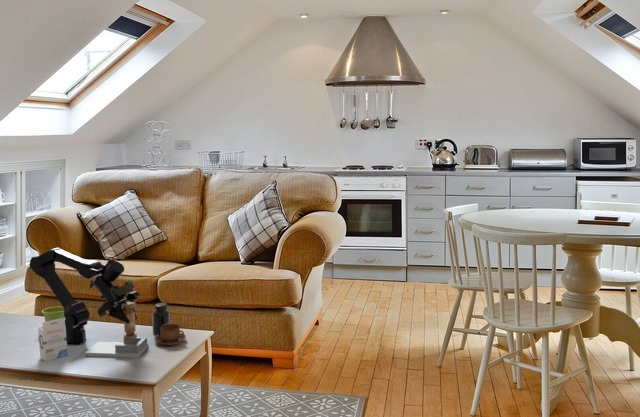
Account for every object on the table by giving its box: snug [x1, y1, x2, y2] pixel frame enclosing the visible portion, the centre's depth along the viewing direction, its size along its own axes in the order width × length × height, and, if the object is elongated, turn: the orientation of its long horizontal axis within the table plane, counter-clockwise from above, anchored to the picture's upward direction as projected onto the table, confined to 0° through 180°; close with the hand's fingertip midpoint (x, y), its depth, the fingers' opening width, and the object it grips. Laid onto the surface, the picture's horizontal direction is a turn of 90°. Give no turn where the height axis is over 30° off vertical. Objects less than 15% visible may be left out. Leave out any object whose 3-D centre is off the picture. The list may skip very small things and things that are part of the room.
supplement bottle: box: [152, 302, 171, 336], centre depth 278 cm, size 7×7×12 cm
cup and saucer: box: [154, 323, 187, 346], centre depth 268 cm, size 12×12×6 cm
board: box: [84, 336, 150, 358], centre depth 258 cm, size 20×12×4 cm, turn 85°
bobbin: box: [121, 302, 138, 340], centre depth 256 cm, size 5×5×13 cm
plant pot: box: [41, 306, 65, 325], centre depth 282 cm, size 9×9×9 cm
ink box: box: [37, 317, 68, 362], centre depth 251 cm, size 8×5×15 cm, turn 133°
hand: (132, 321), depth 255 cm, fingers closed on bobbin, 4 cm apart
